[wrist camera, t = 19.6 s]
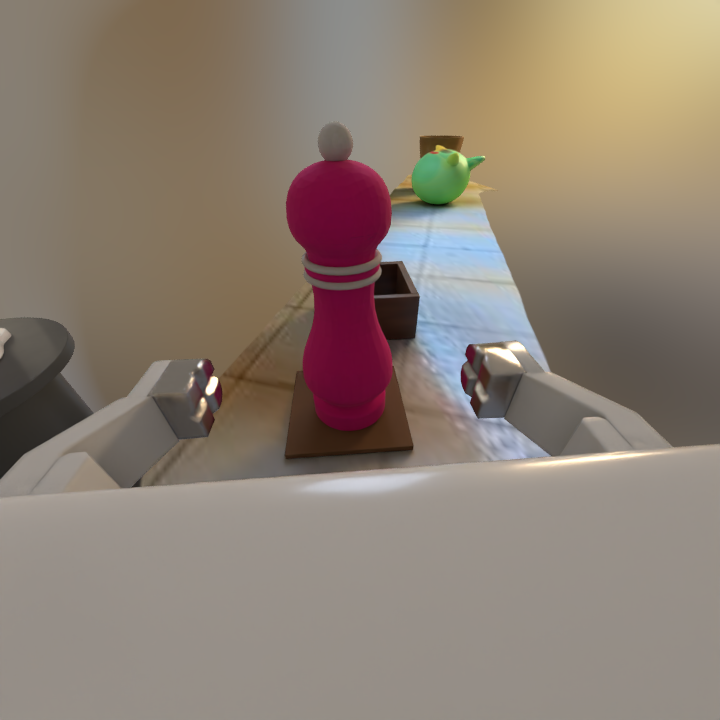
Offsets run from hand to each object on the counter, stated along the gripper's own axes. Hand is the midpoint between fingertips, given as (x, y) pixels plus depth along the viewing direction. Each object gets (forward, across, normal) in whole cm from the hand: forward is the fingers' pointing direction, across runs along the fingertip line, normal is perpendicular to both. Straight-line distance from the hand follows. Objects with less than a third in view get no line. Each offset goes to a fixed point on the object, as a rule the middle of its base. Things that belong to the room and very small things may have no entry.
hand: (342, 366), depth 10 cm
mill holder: (+27, -3, +14) cm, 31 cm away
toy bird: (+94, -32, +14) cm, 100 cm away
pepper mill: (+11, 0, +14) cm, 18 cm away
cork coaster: (+12, 0, +14) cm, 18 cm away
